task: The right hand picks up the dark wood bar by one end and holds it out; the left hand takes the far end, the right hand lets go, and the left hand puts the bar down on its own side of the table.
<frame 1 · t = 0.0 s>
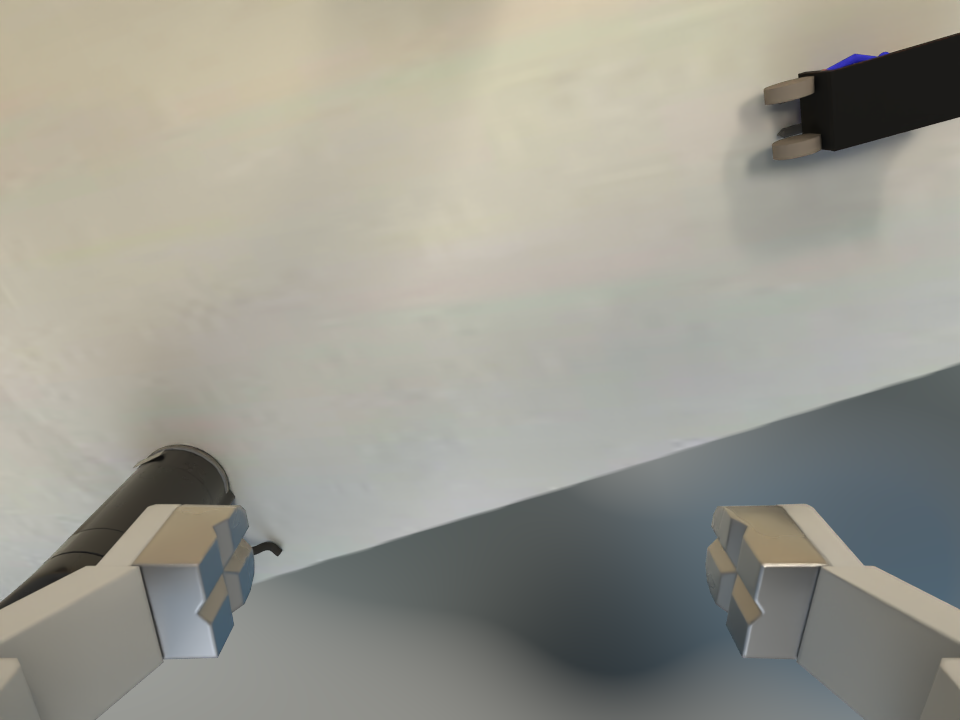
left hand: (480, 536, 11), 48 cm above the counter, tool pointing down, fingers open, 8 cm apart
figurine character: (838, 99, 52), on the counter
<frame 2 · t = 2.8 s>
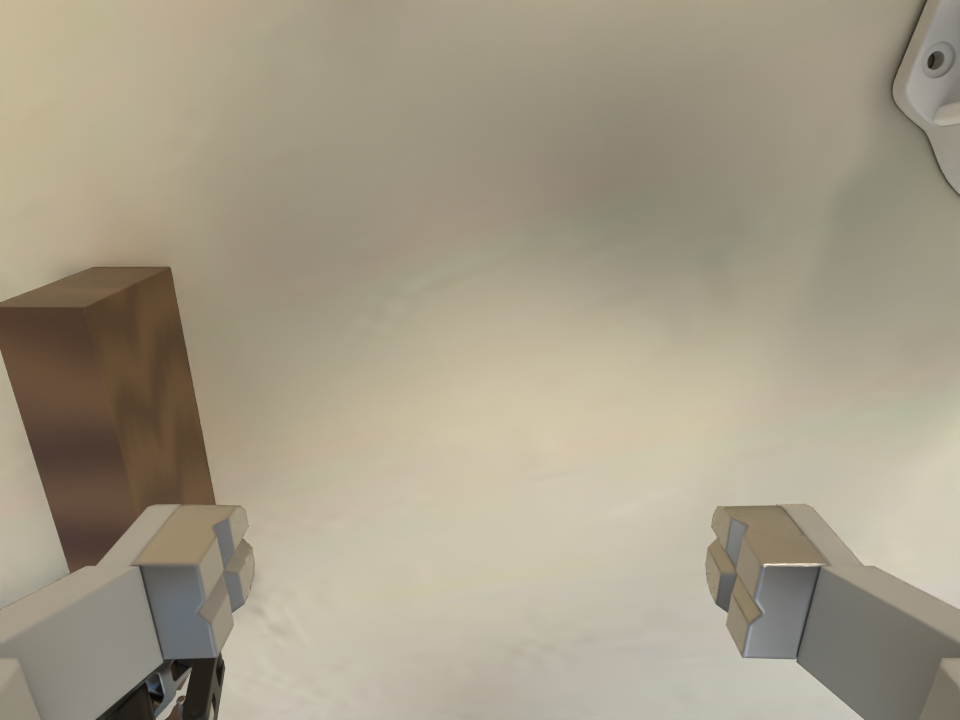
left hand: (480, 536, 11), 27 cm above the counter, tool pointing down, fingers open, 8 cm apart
bar: (170, 447, 41), on the counter, touching right hand
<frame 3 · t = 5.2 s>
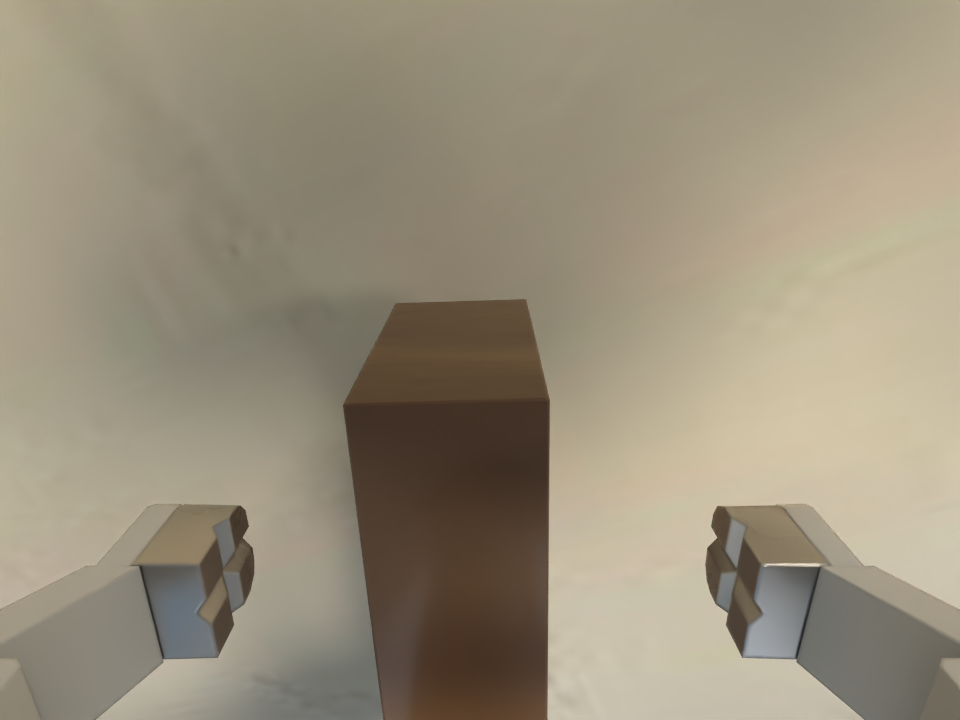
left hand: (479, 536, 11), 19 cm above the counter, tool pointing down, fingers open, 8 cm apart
bar: (474, 582, 26), point 7 cm above the counter, touching right hand
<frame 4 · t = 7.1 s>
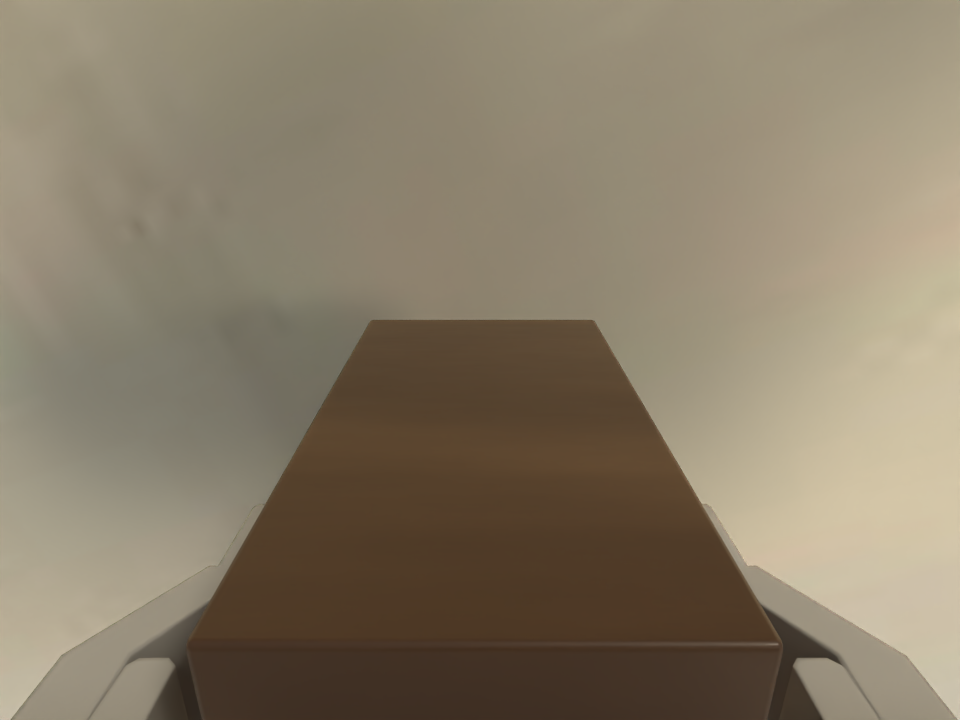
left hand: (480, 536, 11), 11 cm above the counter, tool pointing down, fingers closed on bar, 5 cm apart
when the right hand's fingers open (11 cm above the counter, at t = 8.0 s): bar stays where it is, held by the left hand.
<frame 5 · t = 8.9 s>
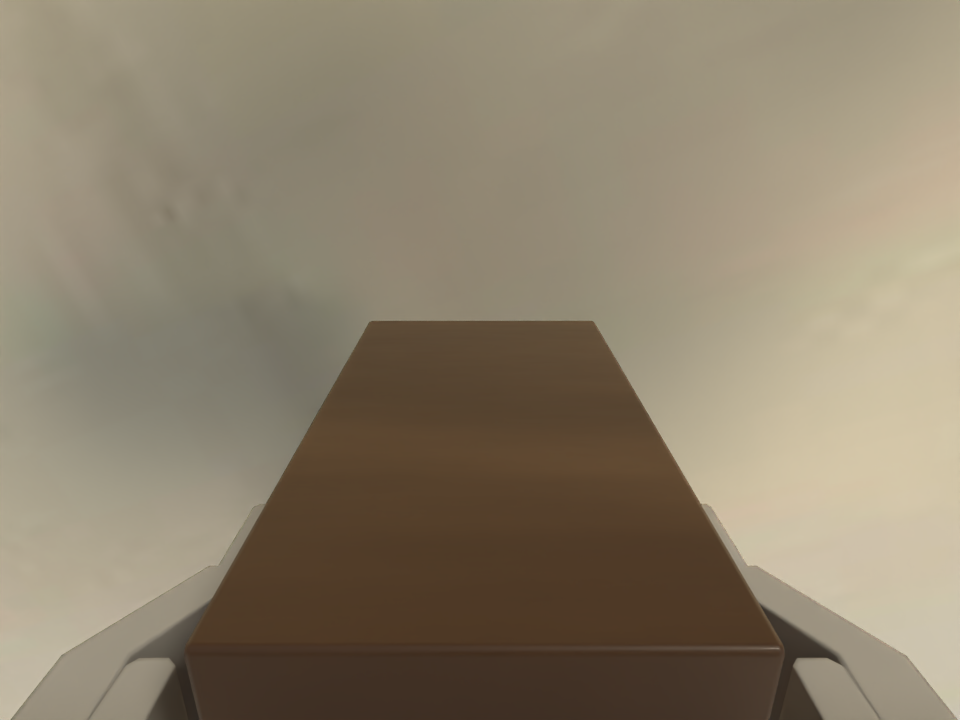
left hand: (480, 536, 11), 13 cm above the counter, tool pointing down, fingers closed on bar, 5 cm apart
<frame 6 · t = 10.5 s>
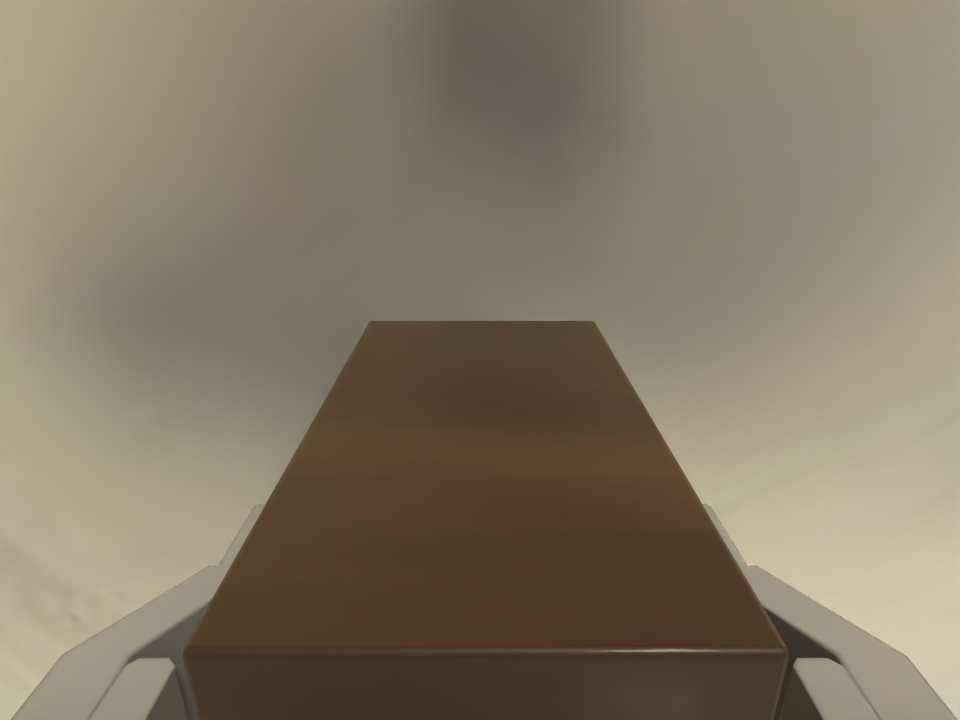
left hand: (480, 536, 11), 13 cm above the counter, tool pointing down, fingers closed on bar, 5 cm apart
when the left hand's fingers open (5 cm above the counter, at t = 11.7 s): bar drops 1 cm, on the counter.
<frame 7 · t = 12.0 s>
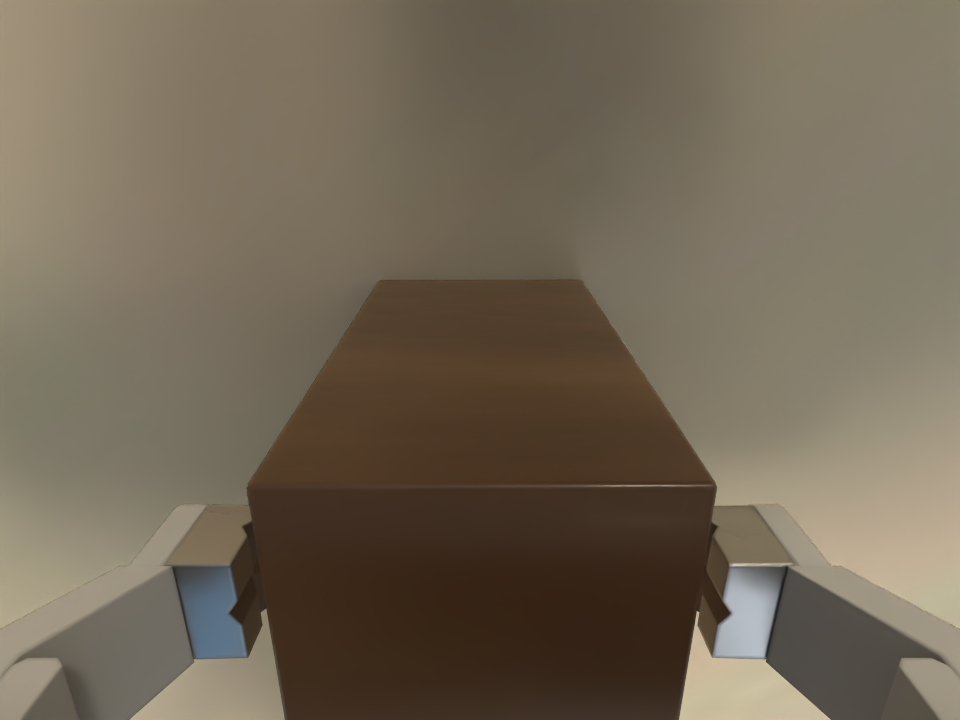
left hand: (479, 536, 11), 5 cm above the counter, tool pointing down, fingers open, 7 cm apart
bar: (481, 682, 18), on the counter
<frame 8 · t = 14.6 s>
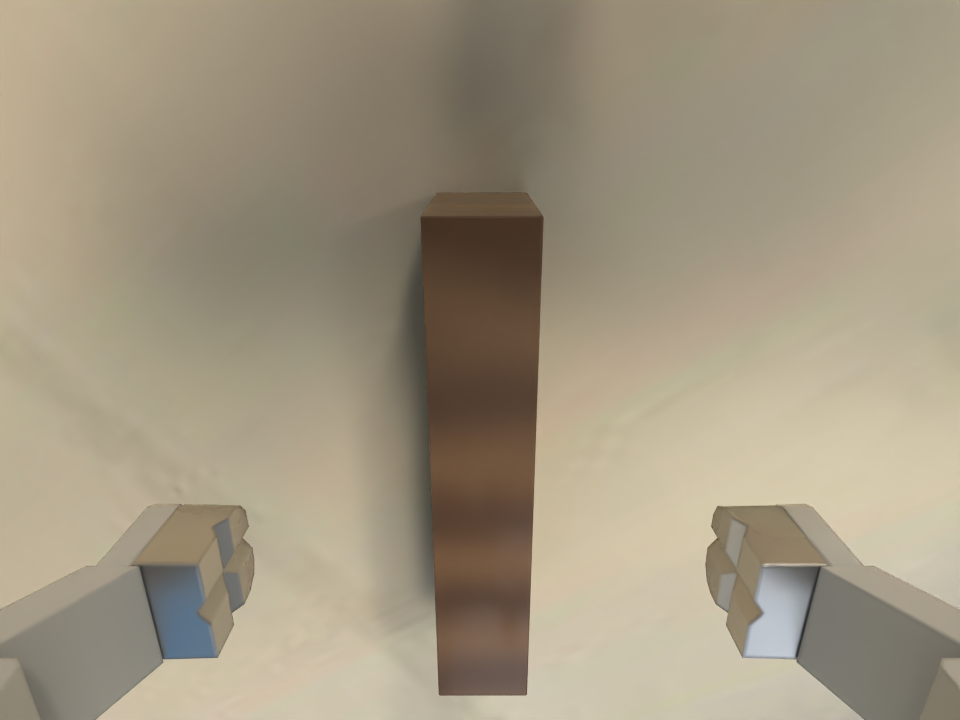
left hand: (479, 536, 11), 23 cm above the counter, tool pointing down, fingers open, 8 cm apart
bar: (482, 413, 35), on the counter
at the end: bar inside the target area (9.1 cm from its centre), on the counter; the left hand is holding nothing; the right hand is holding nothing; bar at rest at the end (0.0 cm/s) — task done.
